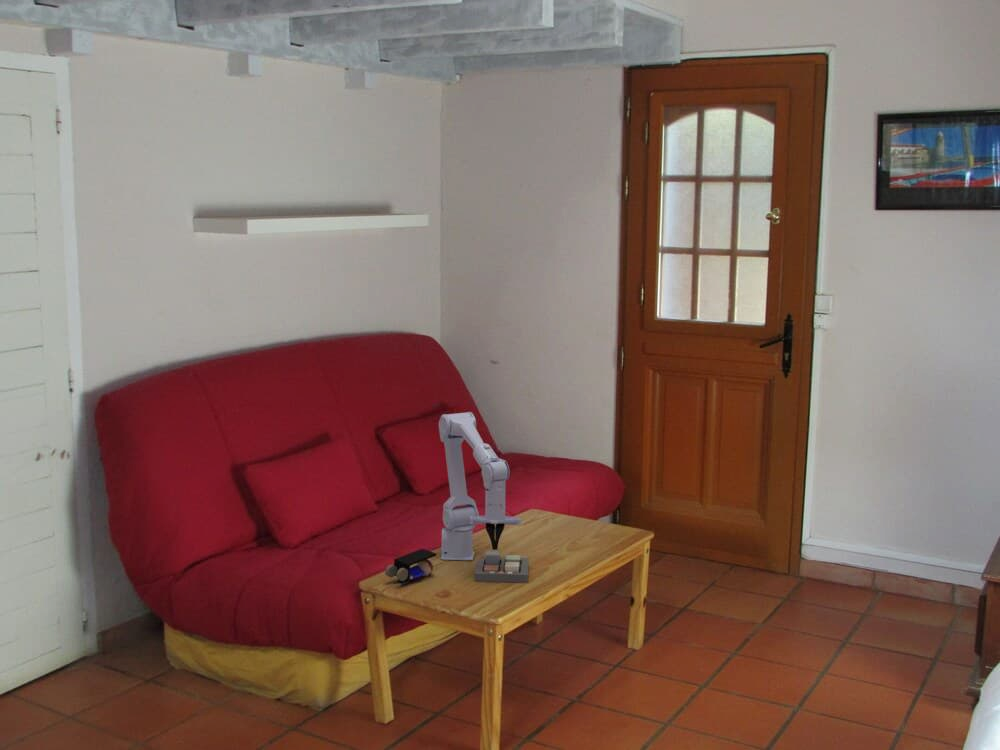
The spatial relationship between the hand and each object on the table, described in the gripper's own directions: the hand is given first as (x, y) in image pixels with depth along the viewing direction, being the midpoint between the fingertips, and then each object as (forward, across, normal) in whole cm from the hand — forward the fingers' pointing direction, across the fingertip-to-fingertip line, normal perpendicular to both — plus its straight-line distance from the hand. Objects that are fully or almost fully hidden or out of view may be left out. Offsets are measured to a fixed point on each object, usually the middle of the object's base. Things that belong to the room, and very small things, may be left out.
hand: (495, 548), depth 330 cm
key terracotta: (+8, -1, 0) cm, 8 cm away
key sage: (+8, +5, +6) cm, 11 cm away
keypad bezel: (+8, +2, +3) cm, 9 cm away
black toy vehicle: (+9, -24, -5) cm, 25 cm away
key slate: (+6, -1, +6) cm, 9 cm away
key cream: (+7, +5, 0) cm, 8 cm away
